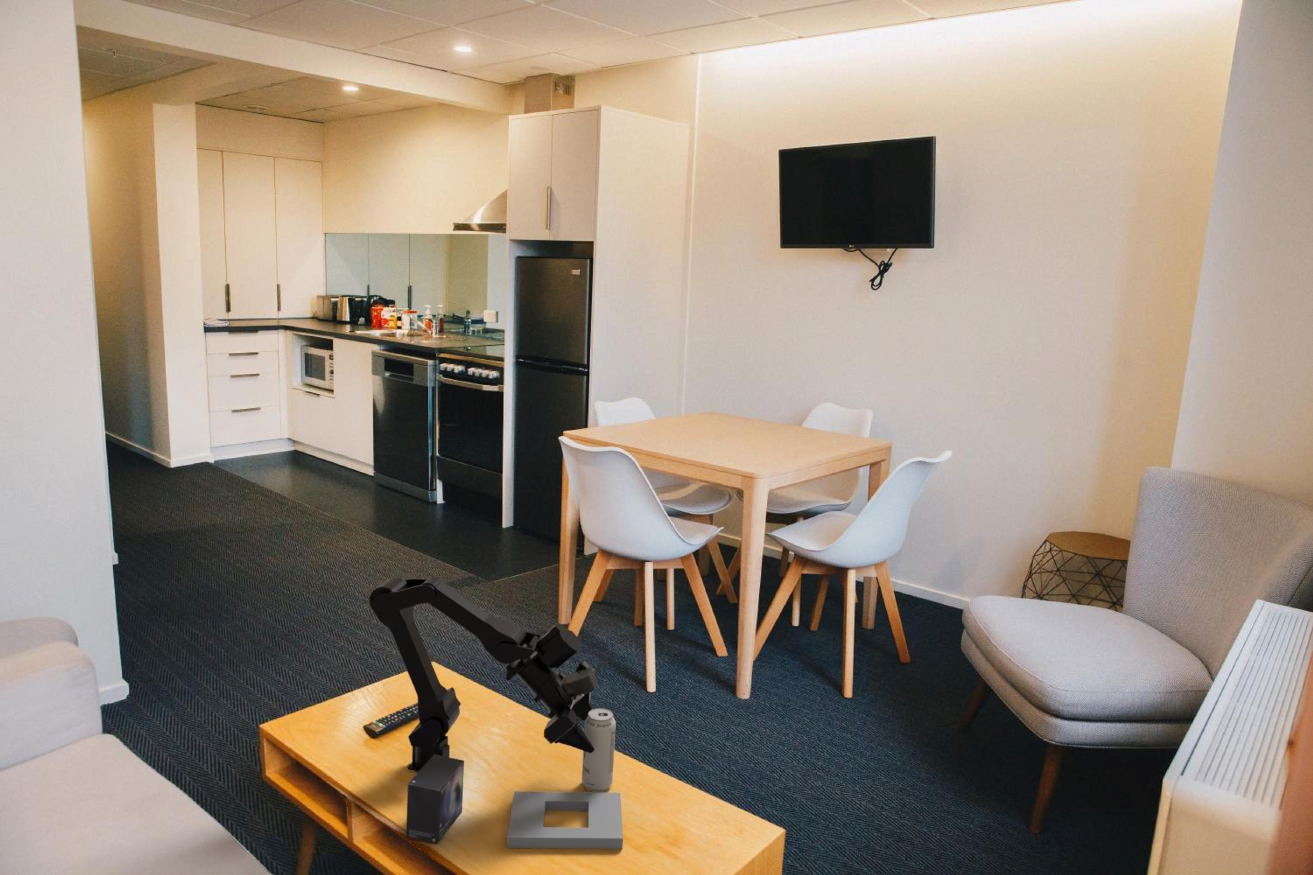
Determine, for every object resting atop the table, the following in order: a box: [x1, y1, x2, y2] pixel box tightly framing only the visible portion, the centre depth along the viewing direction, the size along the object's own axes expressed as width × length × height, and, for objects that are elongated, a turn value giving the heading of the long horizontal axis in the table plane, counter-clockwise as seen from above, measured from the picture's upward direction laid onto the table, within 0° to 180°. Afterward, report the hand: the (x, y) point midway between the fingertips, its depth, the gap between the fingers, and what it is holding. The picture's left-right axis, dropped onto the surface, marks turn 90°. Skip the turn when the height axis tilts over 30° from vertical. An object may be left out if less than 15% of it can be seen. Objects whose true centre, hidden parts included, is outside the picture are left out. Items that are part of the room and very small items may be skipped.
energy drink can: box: [581, 707, 617, 793], centre depth 170 cm, size 6×6×15 cm
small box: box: [405, 755, 465, 845], centre depth 155 cm, size 11×6×10 cm, turn 168°
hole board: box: [506, 790, 624, 850], centre depth 158 cm, size 20×14×2 cm
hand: (596, 739), depth 170 cm, fingers open, 9 cm apart
